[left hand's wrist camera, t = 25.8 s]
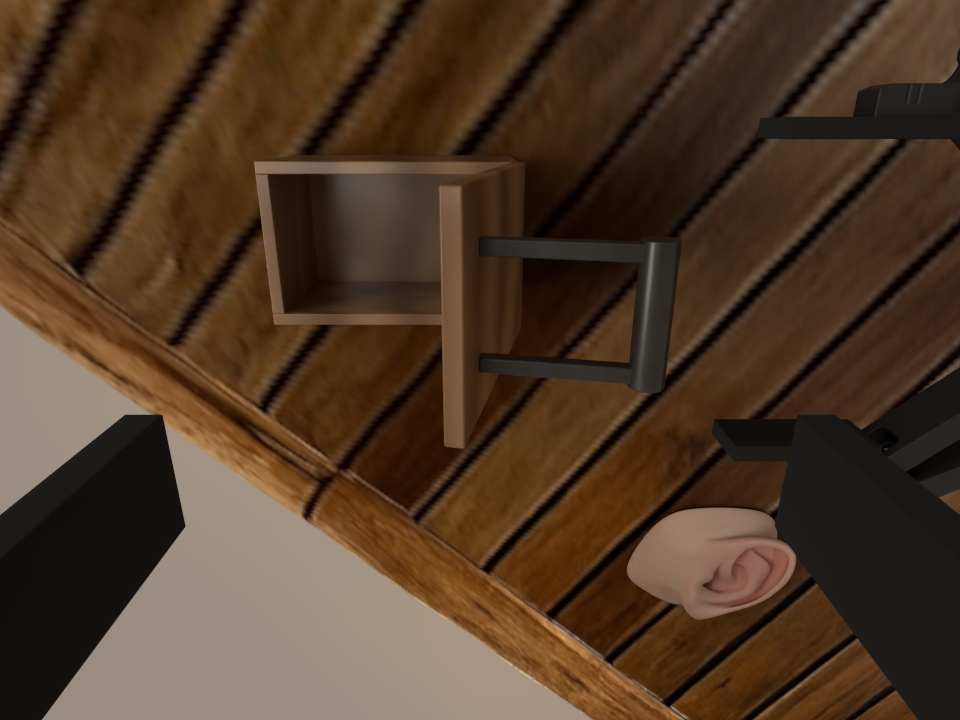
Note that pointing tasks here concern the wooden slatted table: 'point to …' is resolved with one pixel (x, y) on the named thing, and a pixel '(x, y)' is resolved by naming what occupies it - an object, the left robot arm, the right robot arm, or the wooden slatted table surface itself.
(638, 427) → the wooden slatted table surface
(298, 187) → the chest
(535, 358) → the lid
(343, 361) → the wooden slatted table surface
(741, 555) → the anatomical model
